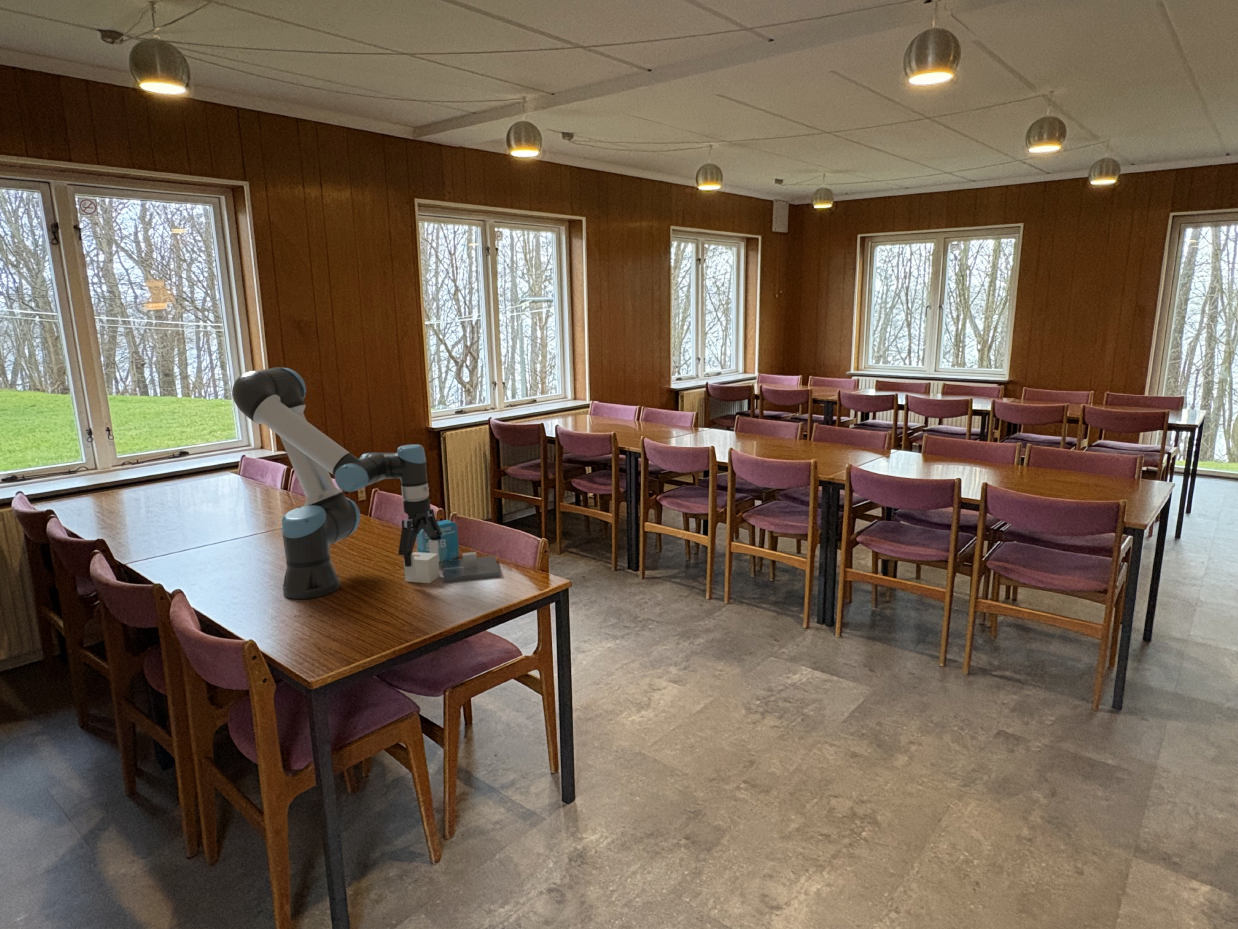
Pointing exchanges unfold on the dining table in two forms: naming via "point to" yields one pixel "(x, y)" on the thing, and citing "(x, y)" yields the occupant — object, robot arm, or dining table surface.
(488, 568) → the plate
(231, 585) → the dining table surface
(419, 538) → the data package
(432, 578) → the white box
